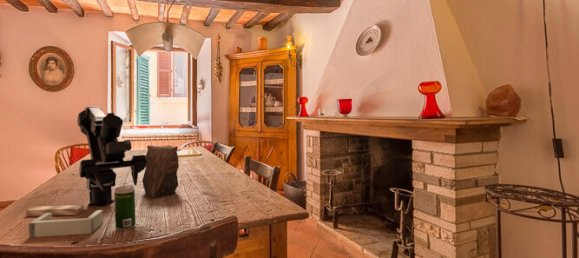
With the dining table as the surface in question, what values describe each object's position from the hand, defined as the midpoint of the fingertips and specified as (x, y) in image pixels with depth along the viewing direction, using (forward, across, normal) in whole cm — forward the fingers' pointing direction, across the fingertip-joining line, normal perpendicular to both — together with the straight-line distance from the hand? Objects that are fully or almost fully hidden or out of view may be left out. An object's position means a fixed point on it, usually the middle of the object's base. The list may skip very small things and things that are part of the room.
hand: (120, 187), depth 101 cm
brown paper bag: (-11, +20, +27) cm, 36 cm away
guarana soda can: (+12, 0, +5) cm, 13 cm away
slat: (-10, -14, +25) cm, 31 cm away
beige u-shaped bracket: (+4, -13, +12) cm, 18 cm away
